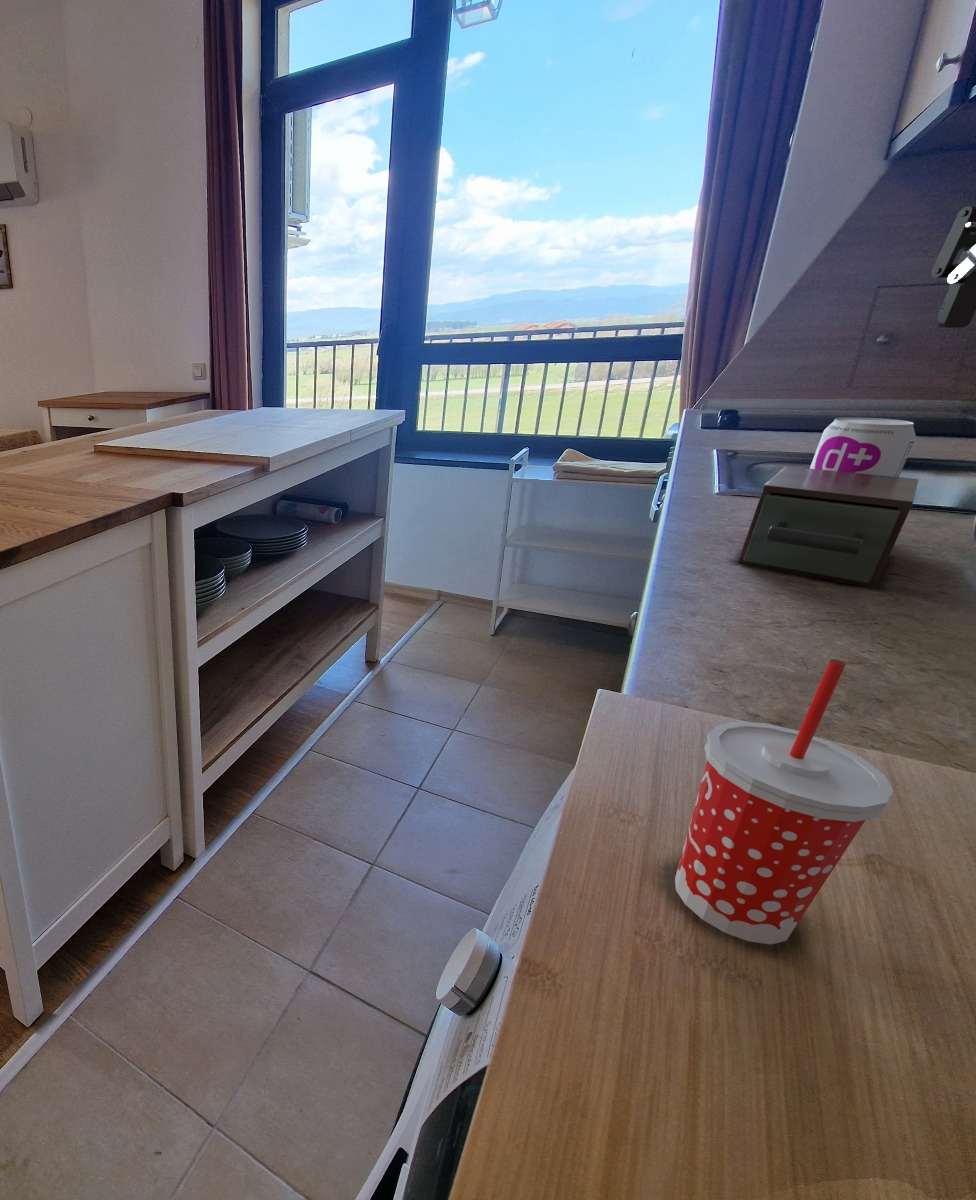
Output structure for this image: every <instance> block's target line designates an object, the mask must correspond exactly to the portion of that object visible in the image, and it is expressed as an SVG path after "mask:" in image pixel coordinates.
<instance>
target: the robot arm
mask: <svg viewBox="0 0 976 1200" xmlns="http://www.w3.org/2000/svg"><path fill="white" fill-rule="evenodd" d="M961 249H962V252H961V254H960V256H959V258H958V260H957V262H956V263H955V260H956V258H957V256H958V253H959V251H960V250H961ZM930 277H931V278H933V279H941V280H944V281H947V283H948V284H949V288H948V290H947V293H946V295H945V298H944V299H943V303H942V304H941V307H940V309H939V312H938V314H937V323H936V325H937V327H938V328H940V329H946V328H947V329H951V328H954V329H956V328H966V327H968V326H969V325H970V324H971V322H972V320H973V317H974V315H975V313H976V205H966V206H964V207H962V208H961V209H960V210H959V211H958V213H957V215H956V218H955V220H954V222H953V224H952V226H951V228H950V230H949V233H948V234H947V237H946V238H945V241H944V243H943V245H942V248H941V250H940V252H939V254H938V257H937V258H936V261H935V263H934V265H933V268H932V269H931V272H930Z"/></svg>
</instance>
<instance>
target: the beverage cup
mask: <svg viewBox="0 0 976 1200" xmlns="http://www.w3.org/2000/svg"><path fill="white" fill-rule="evenodd" d="M846 665H847V663H846V662H845V661H843V660H840V659H836V658H835V659H834V658H832V659H830V660H829V661H828V664H827V666H826V669H825V671H824V673H823V675H822V678H821V680H820V682H819V684H818V686H817V689H816V691H815V693H814V696H813V698H812V701H811V703H810V705H809V707H808V710H807V712H806V715H805V717H804V719H803V720H802V724H801V726H800V728H799V730H796V729H792V728H788V727H784V726H779V725H775V724H772V723H771V724H770V723H765V722H753V721H742V720H741V721H739V720H738V721H730V722H725V723H719V724H717V725H716V726H715V727H713V728H712V729H711V730H710V731H709V732H708V733H707V735H706V741H707V742H706V744H705V745H704V746H703V748H704V754H705V758H706V764H705V768H704V771H703V775H702V779H701V782H700V786H699V790H698V794H697V797H696V800H695V803H694V808H693V811H692V816H691V818H690V819H691V820H690V823H689V826H688V830H687V832H686V833H687V834H686V838H685V841H684V845H683V848H682V851H681V856H680V859H679V863H678V865H677V866H678V867H677V870H676V874H675V877H674V883H675V884H674V885H675V891H676V893H677V894H678V896H679V897H680V899H681V900H682V902H683V903H684V905H685V906H686V907H688V908H689V909H690V910H691V911H692V912H693V913H694V914H695V915H696V916H698V917H699V918H700V919H701V920H702V921H704V922H705V923H707V924H710V925H711V926H713V927H714V928H715V929H718V930H720V931H721V932H723V933H725V934H727V935H729V936H733V937H736V938H738V939H741V940H743V941H746V942H751V943H758V944H766V945H774V944H778V943H782V942H786V941H788V939H789V937H790V936H791V934H792V933H793V931H794V930H795V928H796V927H797V925H798V924H799V922H800V921H801V919H802V917H804V914H805V913H806V911H807V910H808V909H809V907H810V905H811V904H812V902H813V901H814V899H815V898H816V897H817V894H818V893H819V892H820V890H821V888H822V887H823V886H824V885H825V883H826V881H827V880H828V878H829V876H830V875H831V873H832V872H833V871H834V869H835V867H836V866H837V864H838V863H839V862H840V860H841V858H842V857H843V856H844V854H845V852H846V851H847V850H848V848H849V846H850V845H851V843H852V841H853V840H854V838H855V837H856V835H857V834H858V833H859V831H860V830H861V828H862V827H863V824H864V823H865V822H866V820H867V821H868V820H872V819H877V818H879V816H880V814H881V813H882V811H883V810H884V808H885V807H886V806H887V803H888V802H889V801H890V799H891V797H892V796H893V793H894V792H895V791H894V789H893V787H892V785H891V784H890V781H889V780H888V777H886V775H885V774H884V773H883V772H881V771H880V770H878V769H877V768H876V767H875V766H873V765H872V764H871V763H870V762H869V761H867V760H866V759H864V758H863V757H861V756H860V755H857V754H855V753H853V752H851V751H849V750H847V749H845V748H844V747H842V746H840V745H837V744H836V743H834V742H832V741H828V740H826V739H823V738H821V737H817V736H815V733H816V732H817V730H818V727H819V725H820V722H821V720H822V718H823V716H824V714H825V711H826V709H827V708H828V705H829V703H830V701H831V699H832V696H833V693H834V692H835V690H836V687H837V685H838V682H839V680H840V678H841V676H842V673H843V671H844V669H845V667H846Z"/></svg>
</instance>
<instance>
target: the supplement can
mask: <svg viewBox="0 0 976 1200" xmlns="http://www.w3.org/2000/svg"><path fill="white" fill-rule="evenodd" d="M914 425H915V423H914V422H913V421H909V420H902V419H893V418H892V419H891V418H879V417H878V418H877V417H837V418H836V417H835V418H834V420H833V421H832V422H831V423H830V424H829V425H828V426H827V427H826V428H825V429H823V431H822V435H821V437H820V439H819V443H818V445H817V448H816V450H815V453H814V456H813V459H812V461H811V463H810V467H809V469H818V470H829V471H839V472H850V473H860V474H871V475H881V476H892V477H900V475H901V473H902V471H903V469H904V466H905V464H906V462H907V460H908V457H909V456H910V453H911V450H912V448H913V446H914V442H915V441H916V440H917V439H916V438H917V435H916V432H915V427H914Z"/></svg>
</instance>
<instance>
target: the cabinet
mask: <svg viewBox="0 0 976 1200" xmlns="http://www.w3.org/2000/svg"><path fill="white" fill-rule="evenodd" d="M918 482H919V479H918V478H911V477H903V476H901V477H900V476H899V477H892V476H881V475H871V474H860V473H850V472H839V471H829V470H818V469H810V468H809V467H808V468H806V467H797V466H787V465H786V466H784V467H783V468H781V470H779V472H778V473H776V474H775V475H774V476H773V477H772V478H770V480H769V481H767V482H766V483H764V485H763V487H762V491H761V494H760V496H759V500H758V502H757V505H756V508H755V511H754V514H753V517H752V520H751V523H750V526H749V528H748V532H747V534H746V537H745V540H744V542H743V546H742V549H741V551H740V554H739V557H738V560H737V564H742V565H746V566H753V567H758V568H764V569H769V570H773V571H780V572H785V573H789V574H795V575H801V576H806V577H807V576H808V577H812V578H817V579H818V578H819V579H824V580H828V581H835V582H840V583H845V584H850V585H855V586H861V587H867V588H872V589H876V587H877V585H878V582H879V580H880V578H881V576H882V574H883V571H884V569H885V567H886V564H887V562H888V560H889V558H890V555H891V553H892V551H893V548H894V546H895V544H896V543H897V539H898V537H899V535H900V533H901V531H902V529H903V526H904V524H905V522H906V519H907V517H908V515H909V514H910V510H911V508H912V506H913V504H914V501H915V496H916V493H917V487H918V484H919V483H918ZM768 494H769V495H778V494H786V495H794V496H803V497H811V498H820V499H828V500H836V501H845V502H853V503H862V504H870V505H878V506H887V507H891V509H893V510H900V514H899V516H898V519H897V521H896V523H895V525H894V528H893V530H892V532H891V534H890V537H889V539H888V541H887V544H886V546H885V548H884V550H883V553H882V555H881V557H880V559H879V562H878V564H877V566H876V569H875V571H874V573H873V575H872V578H871V580H870V582H869V583H865V582H859V581H853V580H848V579H842V578H837V577H831V576H826V575H820V574H815V573H809V572H804V571H798V570H793V569H787V568H782V567H776V566H771V565H765V564H759V563H754V562H748V561H744V557H745V554H746V551H747V549H748V546H749V543H750V540H751V537H752V534H753V531H754V529H755V526H756V523H757V520H758V517H759V514H760V511H761V509H762V506H763V503H764V500H765V497H766V496H767V495H768Z"/></svg>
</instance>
